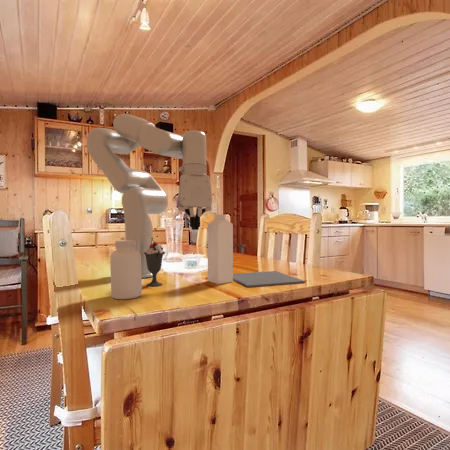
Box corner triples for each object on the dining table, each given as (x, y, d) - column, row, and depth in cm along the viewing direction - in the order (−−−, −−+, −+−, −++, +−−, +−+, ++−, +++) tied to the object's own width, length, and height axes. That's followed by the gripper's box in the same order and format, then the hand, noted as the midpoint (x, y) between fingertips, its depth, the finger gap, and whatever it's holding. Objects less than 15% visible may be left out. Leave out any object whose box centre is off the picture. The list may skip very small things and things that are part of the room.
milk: (218, 284, 105) (217, 214, 104) (207, 281, 110) (207, 214, 109) (233, 282, 109) (233, 214, 108) (222, 279, 114) (222, 214, 113)
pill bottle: (114, 293, 94) (114, 239, 93) (143, 292, 94) (143, 239, 94) (107, 300, 86) (106, 242, 85) (139, 299, 87) (138, 241, 86)
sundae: (146, 288, 100) (146, 238, 99) (141, 284, 106) (140, 236, 105) (168, 285, 103) (167, 237, 102) (161, 282, 109) (161, 236, 108)
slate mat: (247, 287, 101) (247, 285, 101) (225, 275, 120) (225, 274, 120) (305, 282, 107) (305, 281, 107) (275, 272, 126) (275, 270, 126)
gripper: (173, 169, 99) (173, 230, 100) (220, 170, 104) (221, 229, 105) (168, 172, 107) (169, 229, 107) (213, 173, 111) (214, 228, 112)
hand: (195, 229), depth 106 cm, fingers closed
